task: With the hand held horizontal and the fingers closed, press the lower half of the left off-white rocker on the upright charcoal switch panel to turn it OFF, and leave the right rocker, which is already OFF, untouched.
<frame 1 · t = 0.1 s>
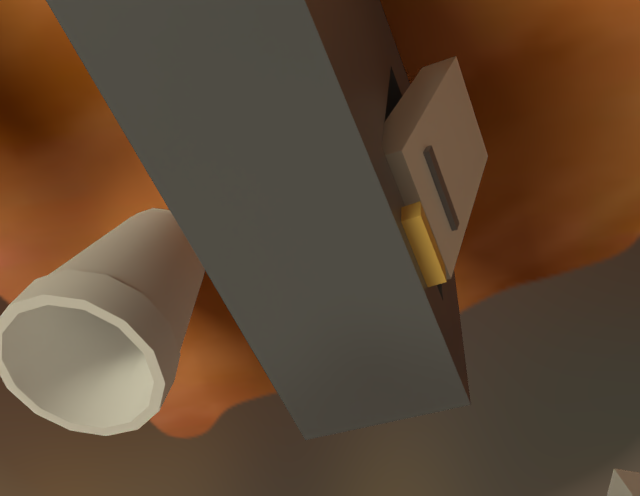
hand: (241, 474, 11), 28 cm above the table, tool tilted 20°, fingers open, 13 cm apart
switch panel: (320, 0, 33), on the table
foam cup: (166, 246, 42), on the table
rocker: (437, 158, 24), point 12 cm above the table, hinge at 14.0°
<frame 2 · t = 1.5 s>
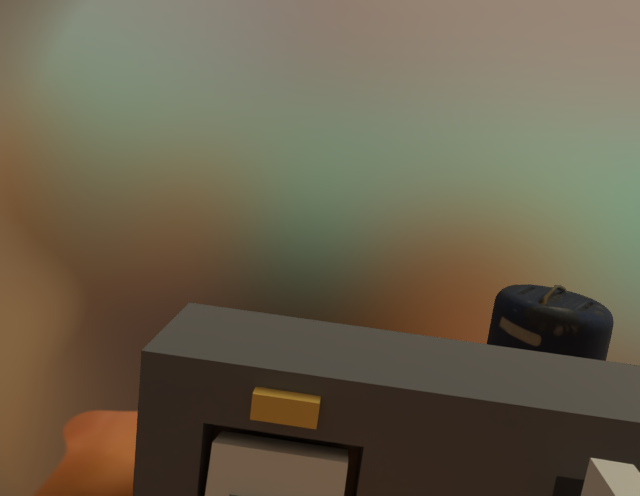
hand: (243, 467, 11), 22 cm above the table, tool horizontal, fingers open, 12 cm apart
canister: (517, 479, 53), on the table
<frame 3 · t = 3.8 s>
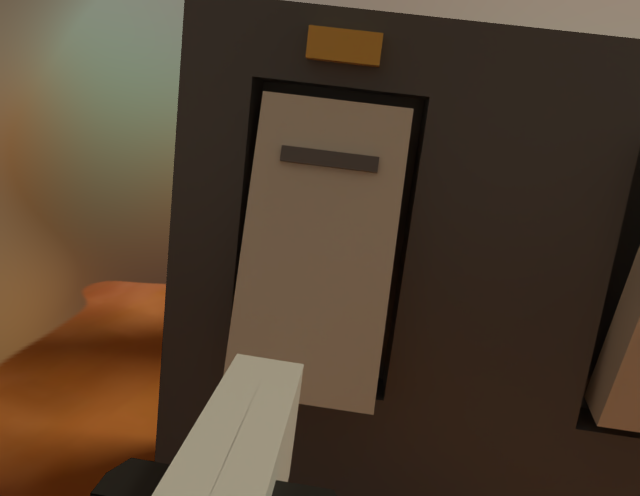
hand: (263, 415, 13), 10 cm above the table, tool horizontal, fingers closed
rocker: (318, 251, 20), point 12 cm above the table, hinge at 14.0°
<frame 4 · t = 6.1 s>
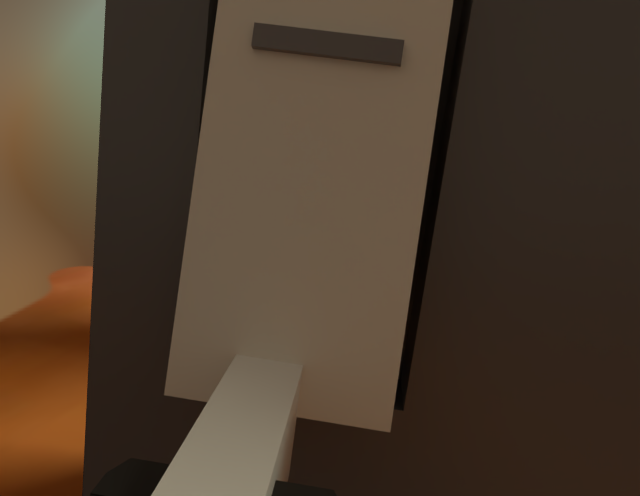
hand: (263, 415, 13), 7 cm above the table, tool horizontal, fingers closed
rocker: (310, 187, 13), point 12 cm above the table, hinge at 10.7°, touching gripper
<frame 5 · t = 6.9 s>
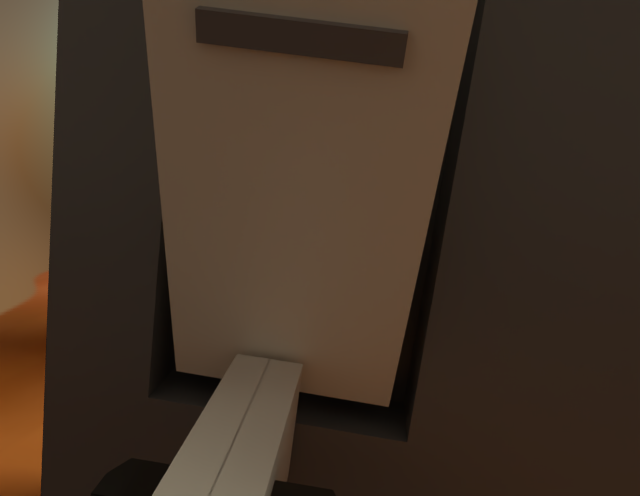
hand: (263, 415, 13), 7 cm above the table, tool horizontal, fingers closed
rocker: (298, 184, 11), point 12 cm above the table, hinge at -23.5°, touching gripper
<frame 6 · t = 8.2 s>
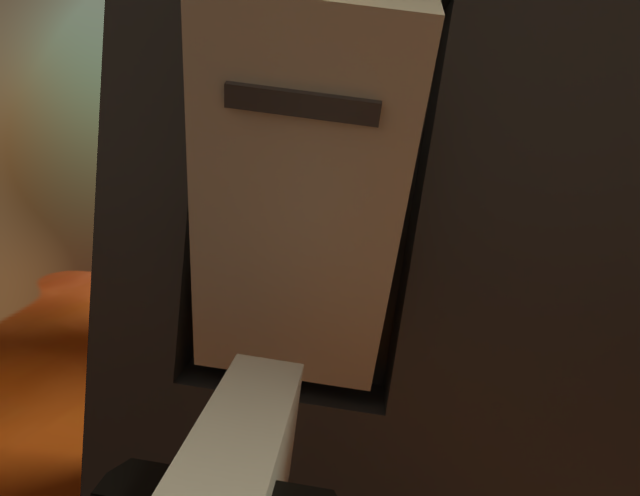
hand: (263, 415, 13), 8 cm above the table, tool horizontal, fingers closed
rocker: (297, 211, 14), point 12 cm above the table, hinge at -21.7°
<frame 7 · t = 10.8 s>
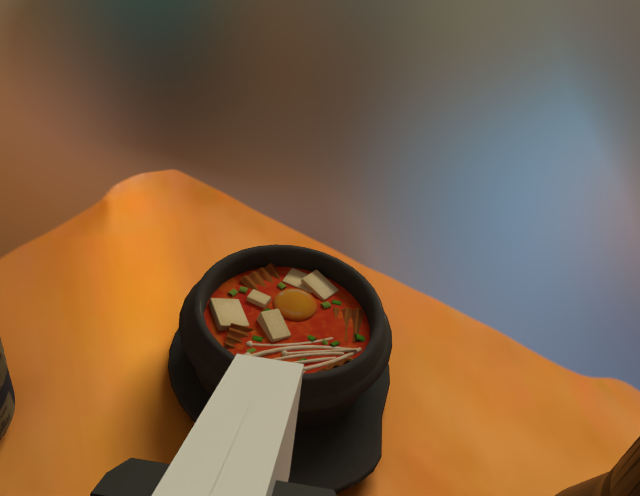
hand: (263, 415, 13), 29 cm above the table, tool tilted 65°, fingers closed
casserole: (278, 374, 51), on the table
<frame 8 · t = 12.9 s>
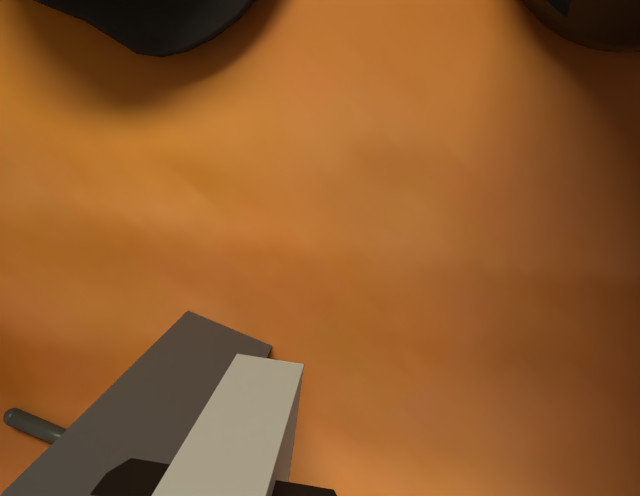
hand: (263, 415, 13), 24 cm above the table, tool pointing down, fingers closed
switch panel: (170, 477, 41), on the table
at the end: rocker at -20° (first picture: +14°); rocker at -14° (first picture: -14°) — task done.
